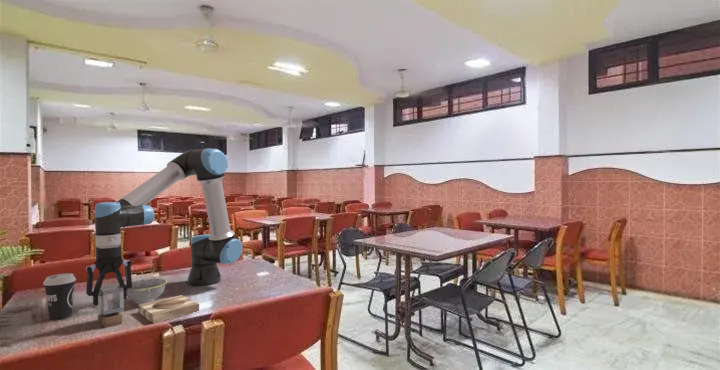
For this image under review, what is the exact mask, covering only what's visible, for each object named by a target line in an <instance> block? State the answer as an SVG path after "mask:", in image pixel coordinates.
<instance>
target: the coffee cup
mask: <svg viewBox="0 0 720 370" xmlns="http://www.w3.org/2000/svg"><path fill="white" fill-rule="evenodd" d="M74 275H75V274H74V273H57V274H53V275H49V276H46V277H45V280H43V283H42V285H43V286H44V289H45V294H46V295H45V296H46V304H47V310H48V311H47V312H48V318H49V321H59V320H60V321H61V320H65V319H67V318H71V317H72V316H73V306H74V305H73V304H74V296H75V294H74V293H75V284H76V281H77V278H76V276H74Z"/></svg>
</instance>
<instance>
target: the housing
mask: <svg viewBox="0 0 720 370" xmlns="http://www.w3.org/2000/svg"><path fill="white" fill-rule="evenodd" d="M99 295H100V296H101V313H102V314H103V315H107V314H111V313H115V312H119V313H120V312H123V311H125V302H124V301H125V299H124V292H123V287H121V286H120V285H119V283H117V282H114V283H113V282H112V283H108V284H102V285H101V288H100V291H99ZM108 295H112V302H108V301H109V300H108Z"/></svg>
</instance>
